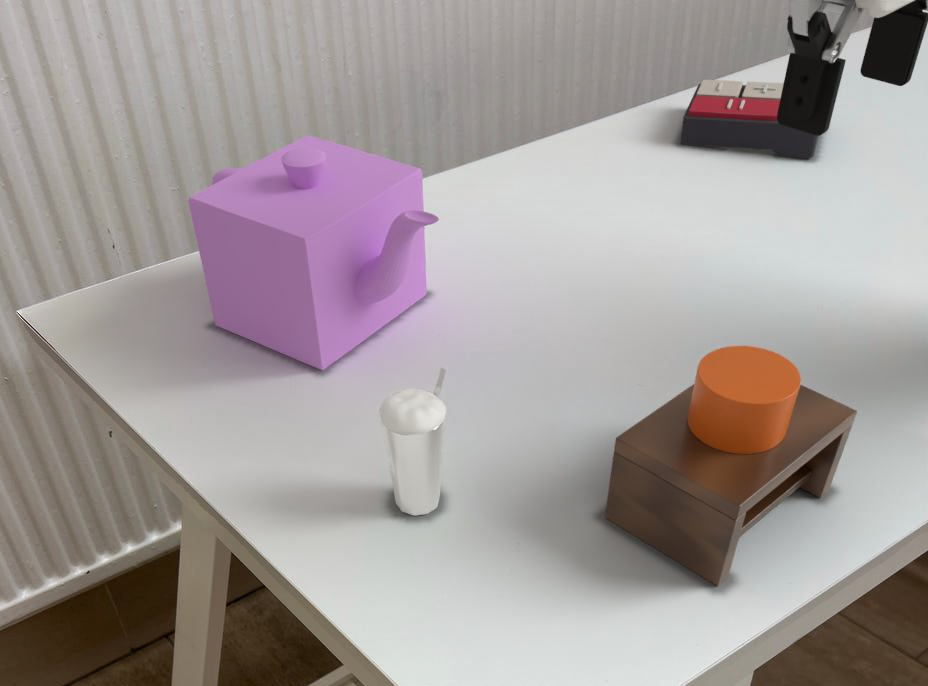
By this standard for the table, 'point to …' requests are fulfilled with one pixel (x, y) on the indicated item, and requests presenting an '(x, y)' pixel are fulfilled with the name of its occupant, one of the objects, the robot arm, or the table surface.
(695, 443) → the brown wooden step stool
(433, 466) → the milkshake
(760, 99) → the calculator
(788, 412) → the orange cylinder puck
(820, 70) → the robot arm
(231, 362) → the table surface
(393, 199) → the teapot
